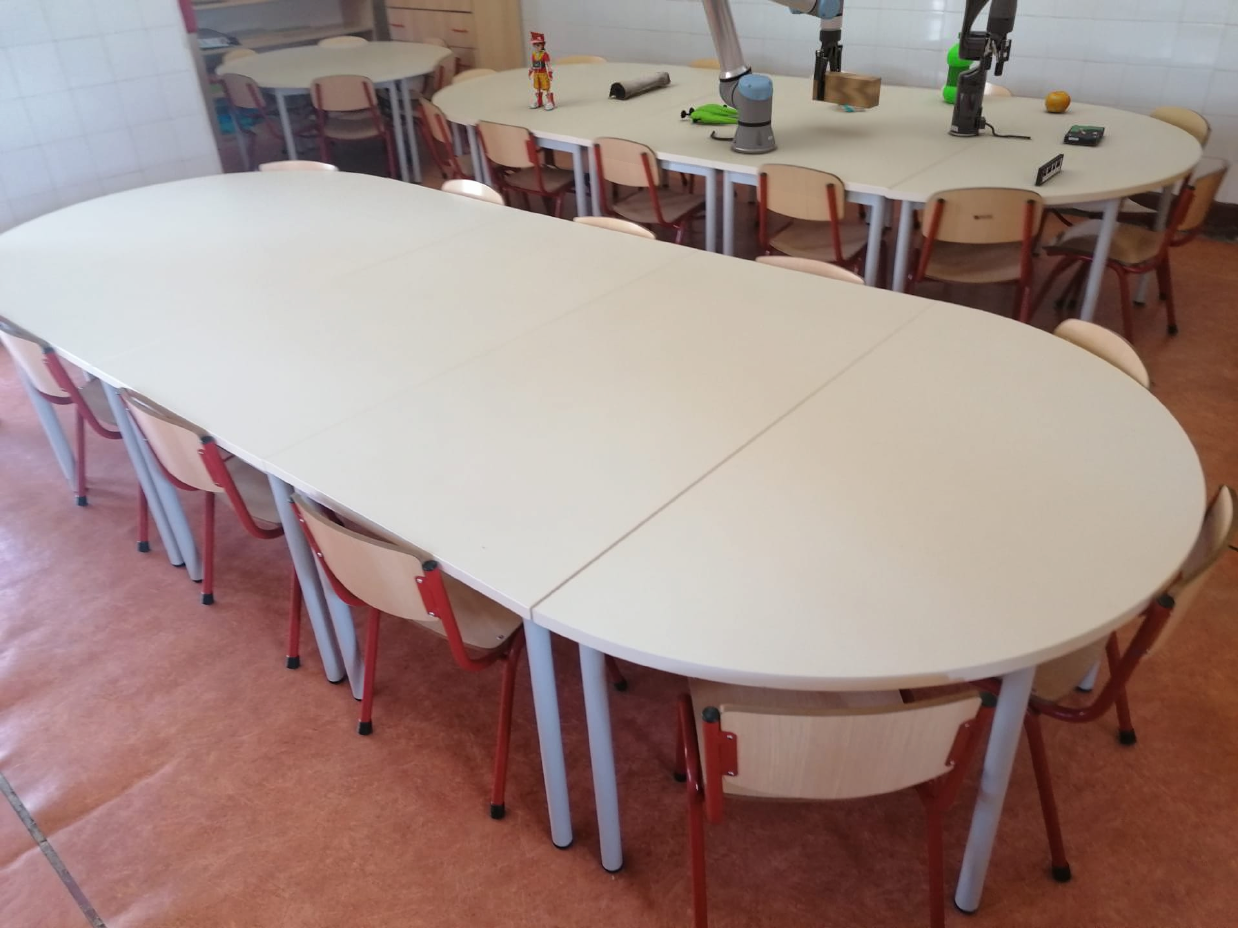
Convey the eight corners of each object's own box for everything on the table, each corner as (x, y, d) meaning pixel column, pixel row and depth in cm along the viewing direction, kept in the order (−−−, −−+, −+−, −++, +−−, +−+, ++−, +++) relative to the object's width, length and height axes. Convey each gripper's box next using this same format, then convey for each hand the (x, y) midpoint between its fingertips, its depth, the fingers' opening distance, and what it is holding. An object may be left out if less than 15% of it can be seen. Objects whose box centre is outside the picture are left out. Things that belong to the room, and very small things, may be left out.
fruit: (1041, 103, 332) (1056, 84, 329) (1039, 107, 340) (1054, 87, 337) (1060, 116, 331) (1076, 96, 328) (1058, 119, 339) (1073, 100, 335)
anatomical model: (829, 82, 357) (854, 75, 356) (832, 108, 363) (856, 101, 362) (839, 90, 345) (865, 83, 344) (842, 117, 351) (867, 111, 350)
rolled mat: (651, 76, 408) (662, 61, 399) (662, 93, 408) (674, 79, 400) (605, 92, 391) (616, 77, 383) (617, 110, 391) (628, 95, 383)
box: (878, 105, 318) (881, 77, 313) (869, 109, 315) (871, 81, 309) (821, 96, 333) (823, 70, 328) (812, 100, 330) (813, 73, 324)
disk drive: (1096, 147, 298) (1103, 135, 308) (1098, 138, 296) (1105, 126, 306) (1062, 144, 302) (1070, 132, 312) (1064, 135, 301) (1072, 124, 311)
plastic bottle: (973, 101, 354) (984, 32, 339) (955, 106, 349) (966, 36, 335) (952, 97, 361) (962, 29, 346) (934, 102, 356) (944, 33, 342)
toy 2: (670, 122, 346) (740, 135, 334) (671, 108, 344) (742, 120, 331) (703, 111, 367) (770, 123, 354) (704, 98, 364) (772, 109, 351)
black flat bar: (1039, 185, 269) (1043, 168, 266) (1035, 184, 270) (1038, 168, 267) (1060, 170, 279) (1064, 154, 277) (1056, 169, 280) (1060, 153, 277)
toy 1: (525, 109, 381) (517, 32, 364) (534, 104, 388) (527, 28, 371) (550, 110, 377) (543, 32, 360) (559, 105, 384) (553, 28, 367)
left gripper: (837, 23, 323) (832, 91, 336) (805, 32, 313) (801, 102, 326) (855, 25, 318) (849, 94, 331) (823, 34, 308) (818, 104, 321)
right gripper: (980, 11, 271) (970, 69, 280) (999, 19, 259) (989, 78, 268) (1004, 10, 271) (994, 67, 280) (1025, 17, 259) (1013, 77, 268)
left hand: (825, 97), depth 329 cm, fingers closed on box, 6 cm apart
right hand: (992, 73), depth 274 cm, fingers open, 8 cm apart
